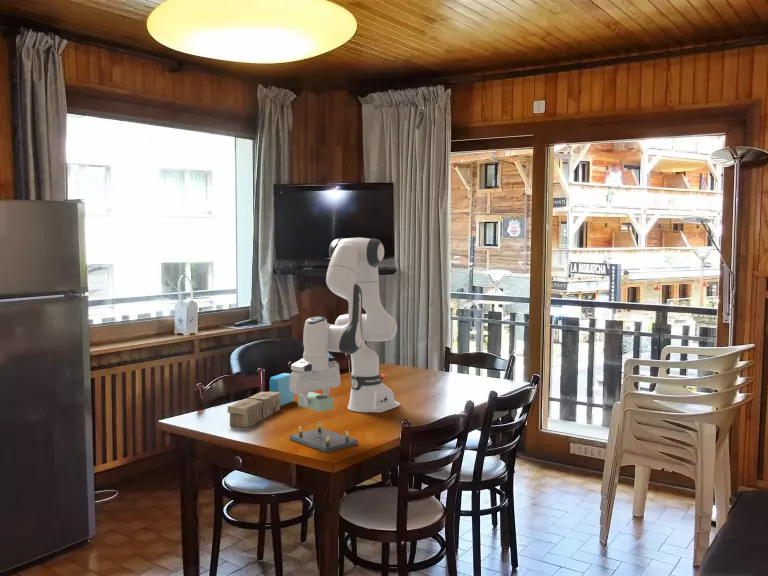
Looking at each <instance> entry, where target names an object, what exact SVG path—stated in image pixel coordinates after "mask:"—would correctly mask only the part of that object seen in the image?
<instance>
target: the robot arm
mask: <svg viewBox="0 0 768 576" xmlns="http://www.w3.org/2000/svg"><path fill="white" fill-rule="evenodd" d="M328 256H329V259H330V261H329V263H328V267H327V272H326V277H325V283H326V286H327V288H328V289H329V290H330V291H331V292H332V293H333V294H335V295H336V296H338V297H340V298H342V299H344V300H346V301H347V302H348V313H345V314H340V315H339V316H338V317H337V318H336V320H335V321H334V324H332V323H331V324H330V323H329V322H328V321H327V320H328V319H327V318H326V317H325V316H312V317H309V318H307V319H306V320H305V322H304V327H303V341H302V345H303V348H304V349H303V354H302V358H300V359H299V360H297V361H295V362H294V363H291V365H290V370H291V371H292V372H290V374H291V375H290V391H291V392H292V393H294V395H295V394H296V395H298V394H301V395H302V397H303V398H304V404H306V405H308V404H310V401H311V399H308V397H307V395H308V393H309V392H315V391H323V393H322V395H325V396H329V394H330V392H331V389H332V388H339V387H340V385H341V374H340V373H341V372H340V364H339V362H338V361H336V360H333V361H329V358H330V357H329V352H331V353H333V352H335V353H343V354H347V355H350V362H351V374H350V386H351V388H350V395H349V400H348V405H347V409H348V410H349V411H352V412H356V413H383V412H386V411H389V410H392V409H395V408H397V407H400V406H401V403H400V402H398V401H397V400H395V394H394V392H393V390H392V389H390V388H389V387H388V386H386V385H385V384H384V383H383V381H382V380H384V381H385V380H386V379H387V375H386V374H384V373H382V374H380V371H379V370H380V358H379V357H380V356H379V355H378V354H377V352H376V351H374V350H373V349H371V348H369V347H368V346H367V344H366V342H386V341H390V340H392V341H393V339H394V337H395V336H396V334H397V331H398V324H397V321H396V319H395V318H394V317H393V316H392V315H390V313H388V312H387V311H386V309H385V307H384V306H383V304H382V301H381V297H380V287H379V285H380V281H379V280H380V278H379V277H380V276H379V267H378V266H379V265H380V264H381V263H382V262H383V260H384V257H385V246H384V244H383V242H382V241H381V240H380V239H377V238H368V237H367V238H366V237H349V238H348V237H347V238H346V237H345V238H344V237H340V238H336V239H334V240H332V241H331V242H330V245H329V248H328ZM363 310H364V312H365V313H363Z"/></svg>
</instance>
